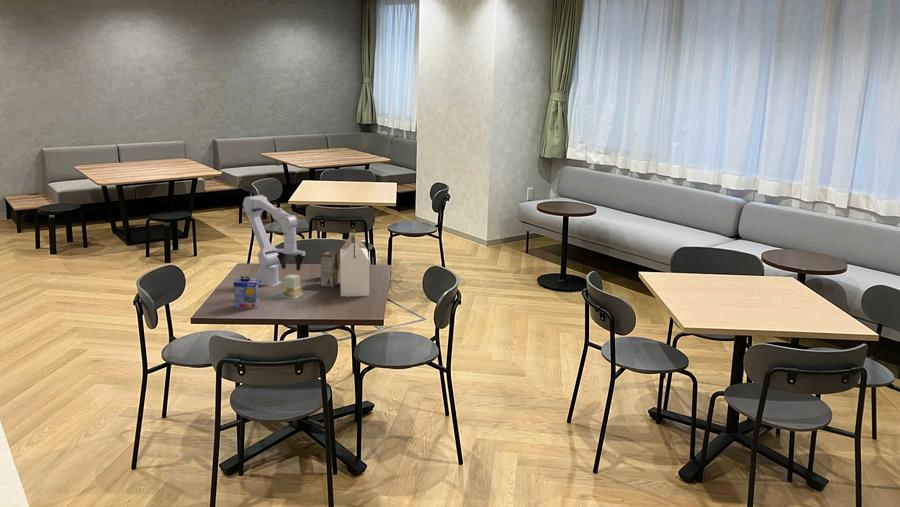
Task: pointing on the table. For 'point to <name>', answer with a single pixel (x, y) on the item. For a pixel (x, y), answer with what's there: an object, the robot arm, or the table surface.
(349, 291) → the gable box
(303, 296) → the board
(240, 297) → the ink cartridge box
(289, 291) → the maple base block
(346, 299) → the table surface
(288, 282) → the sage top block
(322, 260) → the coffee box
